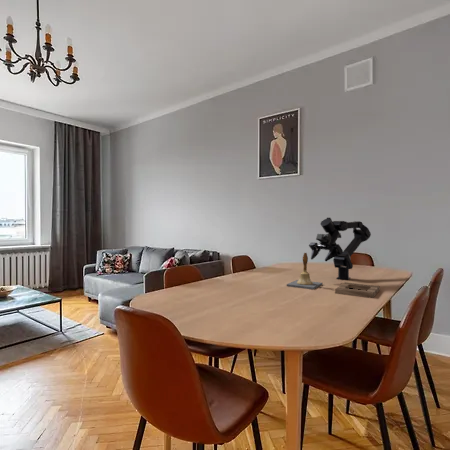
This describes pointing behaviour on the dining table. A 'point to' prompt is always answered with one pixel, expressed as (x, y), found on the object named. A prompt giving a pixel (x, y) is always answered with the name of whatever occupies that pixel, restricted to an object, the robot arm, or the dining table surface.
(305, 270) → the hand bell
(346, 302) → the dining table surface
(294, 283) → the grey rubber mat
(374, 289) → the walnut well board
